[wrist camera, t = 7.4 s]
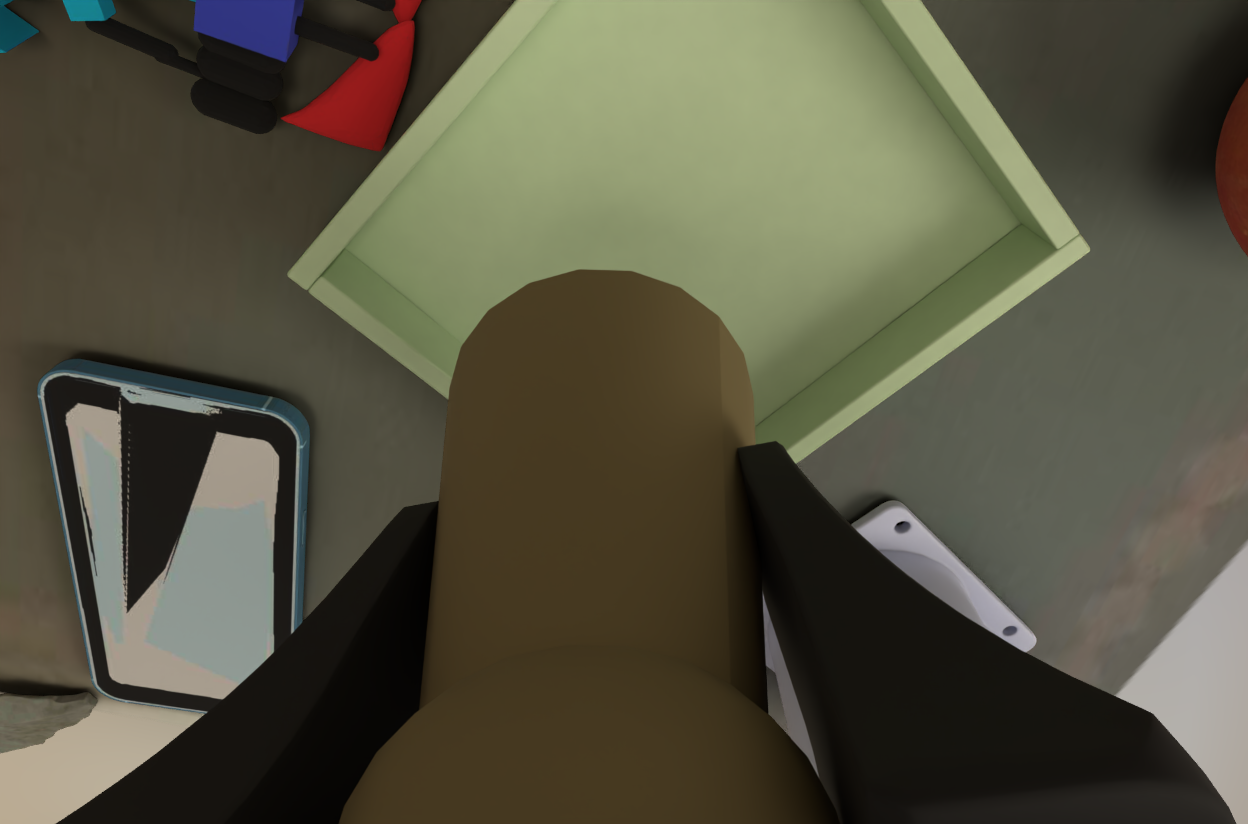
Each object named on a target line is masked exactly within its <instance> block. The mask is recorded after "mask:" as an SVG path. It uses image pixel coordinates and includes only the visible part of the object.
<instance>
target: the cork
mask: <svg viewBox="0 0 1248 824" xmlns="http://www.w3.org/2000/svg"><path fill="white" fill-rule="evenodd" d="M750 445H756V440H755V419H754V397H753V391H752V386H751V382H750V378H749V373H748V369H747V365H746V360H745V356H744V353H743V351H742V350H741V348H740V347H739V345H738V344H737V342H736V341H735V339H734V338H733V336H732V335H731V333H730V332H729V330H728V329H727V328H726V326H725V325H724V323H723V322H722V320H721V319H720V317H719V316H718V315H717V314H715V313H714V312H713V311H711V310H710V309H709V308H707V307H706V306H705V305H703V304H702V303H700V302H699V301H698V300H696V299H695V298H694V297H692V296H691V295H690V294H688V293H687V292H686V291H684V290H683V289H682V288H680V287H678V286H675V285H672V284H669V283H666V282H663V281H660V280H657V279H654V278H651V277H648V276H645V275H642V274H639V273H637V272H634V271H622V270H587V269H578V270H574V271H571V272H567V273H563V274H560V275H556V276H553V277H549V278H545V279H542V280H538V281H535V282H531V283H528V284H527V285H525V286H524V287H522V288H521V289H519V290H518V291H516V292H515V293H513V294H512V295H510V296H509V297H507V298H506V299H504V300H503V301H501V302H500V303H498V304H497V305H495V306H494V307H492V308H491V309H489V310H488V311H487V312H486V314H485V315H484V316H483V318H482V319H481V320H480V322H479V323H478V324H477V326H476V327H475V328H474V330H473V331H472V332H471V334H470V335H469V336H468V338H467V339H466V340H465V342H464V343H463V344H462V346H461V348H460V352H459V355H458V359H457V362H456V366H455V369H454V373H453V377H452V380H451V384H450V387H449V398H448V409H447V419H446V430H445V440H444V451H443V462H442V472H441V483H440V494H439V504H438V515H437V525H436V536H435V547H434V557H433V568H432V579H431V589H430V600H429V610H428V621H427V632H426V642H425V653H424V664H423V674H422V685H421V696H420V706H419V711H417V712H416V713H415V714H414V715H413V716H412V717H411V718H410V719H409V720H408V721H407V722H406V723H405V724H404V725H403V726H402V727H401V728H400V729H399V730H398V731H397V732H396V733H395V734H394V735H393V736H392V737H391V738H390V739H389V740H388V741H387V742H386V743H385V744H384V745H383V746H382V747H381V748H380V749H379V750H378V751H377V752H376V754H375V756H374V757H373V759H372V761H371V762H370V764H369V766H368V767H367V769H366V771H365V772H364V774H363V776H362V777H361V779H360V781H359V782H358V784H357V786H356V787H355V789H354V791H353V792H352V794H351V796H350V797H349V799H348V801H347V802H346V804H345V806H344V808H343V812H342V815H341V818H340V821H339V824H840V822H839V818H838V815H837V811H836V809H835V807H834V805H833V803H832V801H831V799H830V797H829V796H828V794H827V792H826V790H825V788H824V786H823V784H822V783H821V781H820V779H819V777H818V775H817V773H816V771H815V770H814V768H813V766H812V764H811V762H810V760H809V758H808V757H807V756H806V754H805V753H804V752H803V751H802V750H801V749H800V748H799V747H798V746H797V745H796V743H795V742H794V741H793V740H792V739H791V738H790V737H789V736H788V735H787V734H786V732H785V731H784V730H783V729H782V728H781V727H780V726H779V725H778V724H777V723H776V721H775V720H774V719H773V718H772V717H771V716H769V715H768V699H767V677H766V656H765V634H764V613H763V591H762V570H761V559H760V554H759V549H758V545H757V540H756V535H755V530H754V525H753V520H752V516H751V511H750V507H749V502H748V498H747V493H746V488H745V484H744V479H743V474H742V470H741V465H740V460H739V456H738V451H737V448H739V447H744V446H750Z"/></svg>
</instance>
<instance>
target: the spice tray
mask: <svg viewBox="0 0 1248 824" xmlns="http://www.w3.org/2000/svg"><path fill="white" fill-rule="evenodd" d="M1089 251H1090V247H1089V246H1088V244H1087V243H1086V241H1085V240H1084V238H1083V237H1082V236H1081V234H1079V231H1078V229H1077V228H1076V226H1075V225H1074V224H1073V222H1072V221H1071V219H1070V218H1069V216H1068V215H1067V213H1066V212H1065V210H1064V209H1063V207H1062V206H1061V205H1060V203H1059V202H1058V200H1057V199H1056V197H1055V196H1054V194H1053V193H1052V191H1051V190H1050V188H1049V187H1048V186H1047V184H1046V183H1045V181H1044V180H1043V178H1042V177H1041V175H1040V174H1039V172H1038V171H1037V169H1036V168H1035V167H1034V165H1033V164H1032V162H1031V161H1030V159H1029V158H1028V156H1027V155H1026V153H1025V152H1024V150H1023V149H1022V148H1021V146H1020V145H1019V143H1018V142H1017V140H1016V139H1015V137H1014V136H1013V134H1012V133H1011V131H1010V130H1009V129H1008V127H1007V126H1006V124H1005V123H1004V121H1003V120H1002V118H1001V117H1000V115H999V114H998V112H997V111H996V110H995V108H994V107H993V105H992V104H991V102H990V101H989V99H988V98H987V96H986V95H985V93H984V92H983V91H982V89H981V88H980V86H979V85H978V83H977V82H976V80H975V79H974V77H973V76H972V75H971V73H970V72H969V70H968V69H967V67H966V66H965V64H964V63H963V61H962V60H961V58H960V57H959V56H958V54H957V53H956V51H955V50H954V48H953V47H952V45H951V44H950V42H949V41H948V39H947V38H946V37H945V35H944V34H943V32H942V31H941V29H940V28H939V26H938V25H937V23H936V22H935V20H934V19H933V18H932V16H931V15H930V13H929V12H928V10H927V9H926V7H925V6H924V4H923V3H922V1H921V0H515V1H514V2H513V4H512V5H511V6H510V7H509V8H508V10H507V11H506V12H505V13H504V14H503V16H502V17H501V18H500V19H499V20H498V22H497V23H496V24H495V25H494V26H493V28H492V29H491V30H490V31H489V32H488V34H487V35H486V36H485V37H484V38H483V40H482V41H481V42H480V43H479V44H478V46H477V47H476V48H475V49H474V50H473V51H472V53H471V54H470V55H469V56H468V57H467V59H466V60H465V61H464V62H463V63H462V65H461V66H460V67H459V68H458V69H457V71H456V72H455V73H454V74H453V75H452V77H451V78H450V79H449V80H448V81H447V83H446V84H445V85H444V86H443V87H442V89H441V90H440V91H439V92H438V93H437V95H436V96H435V97H434V98H433V99H432V101H431V102H430V103H429V104H428V105H427V106H426V108H425V109H424V110H423V111H422V112H421V114H420V115H419V116H418V117H417V118H416V120H415V121H414V122H413V123H412V124H411V126H410V127H409V128H408V129H407V130H406V132H405V133H404V134H403V135H402V136H401V138H400V139H399V140H398V141H397V142H396V144H395V145H394V146H393V147H392V148H391V150H390V151H389V152H388V153H387V154H386V155H385V157H384V158H383V159H382V160H381V161H380V163H379V164H378V165H377V166H376V167H375V169H374V170H373V171H372V172H371V173H370V175H369V176H368V177H367V178H366V179H365V181H364V182H363V183H362V184H361V185H360V187H359V188H358V189H357V190H356V191H355V193H354V194H353V195H352V196H351V197H350V199H349V200H348V201H347V202H346V203H345V205H344V206H343V207H342V208H341V209H340V210H339V212H338V213H337V214H336V215H335V216H334V218H333V219H332V220H331V221H330V222H329V224H328V225H327V226H326V227H325V228H324V230H323V231H322V232H321V233H320V234H319V236H318V237H317V238H316V239H315V240H314V242H313V243H312V244H311V245H310V246H309V248H308V249H307V250H306V251H305V252H304V254H303V255H302V256H301V257H300V258H299V259H298V261H297V262H296V263H295V264H294V265H293V267H292V268H291V269H290V270H289V271H288V273H287V276H288V277H289V278H290V279H292V280H293V281H294V282H296V283H297V284H298V285H299V286H301V287H302V288H303V289H305V290H308V289H309V293H310V294H311V295H312V296H314V297H315V298H316V299H318V300H319V301H320V302H322V303H323V304H324V305H325V306H327V307H328V308H329V309H331V310H332V311H333V312H335V313H336V314H337V315H339V316H340V317H341V318H342V319H344V320H345V321H346V322H348V323H349V324H350V325H352V326H353V327H354V328H355V329H357V330H358V331H359V332H361V333H362V334H363V335H365V336H366V337H367V338H368V339H370V340H371V341H372V342H374V343H375V344H376V345H378V346H379V347H380V348H382V349H383V350H384V351H385V352H387V353H388V354H389V355H391V356H392V357H393V358H395V359H396V360H397V361H398V362H400V363H401V364H402V365H404V366H405V367H406V368H408V369H409V370H410V371H411V372H413V373H414V374H415V375H417V376H418V377H419V378H421V379H422V380H423V381H425V382H426V383H427V384H428V385H430V386H431V387H432V388H434V389H435V390H436V391H438V392H439V393H440V394H441V395H443V396H444V397H445V398H447V399H448V398H449V387H450V384H451V380H452V377H453V373H454V369H455V366H456V362H457V359H458V355H459V352H460V348H461V346H462V344H463V343H464V342H465V340H466V339H467V338H468V336H469V335H470V334H471V332H472V331H473V330H474V328H475V327H476V326H477V324H478V323H479V322H480V320H481V319H482V318H483V316H484V315H485V314H486V312H487V311H488V310H489V309H491V308H492V307H494V306H495V305H497V304H498V303H500V302H501V301H503V300H504V299H506V298H507V297H509V296H510V295H512V294H513V293H515V292H516V291H518V290H519V289H521V288H522V287H524V286H525V285H527V284H528V283H531V282H535V281H538V280H542V279H545V278H549V277H553V276H556V275H560V274H563V273H567V272H571V271H574V270H578V269H587V270H622V271H634V272H637V273H639V274H642V275H645V276H648V277H651V278H654V279H657V280H660V281H663V282H666V283H669V284H672V285H675V286H678V287H680V288H682V289H683V290H684V291H686V292H687V293H688V294H690V295H691V296H692V297H694V298H695V299H696V300H698V301H699V302H700V303H702V304H703V305H705V306H706V307H707V308H709V309H710V310H711V311H713V312H714V313H715V314H717V315H718V316H719V317H720V319H721V320H722V322H723V323H724V325H725V326H726V328H727V329H728V330H729V332H730V333H731V335H732V336H733V338H734V339H735V341H736V342H737V344H738V345H739V347H740V348H741V350H742V351H743V353H744V356H745V360H746V365H747V369H748V373H749V378H750V382H751V386H752V391H753V397H754V419H755V440H756V444H761V443H767V442H772V441H777V442H778V443H780V444H781V445H783V446H784V448H785V449H786V451H787V452H788V454H789V455H790V457H791V458H792V459H793V461H794V462H795V463H798V462H799V461H800V460H802V459H803V458H805V457H806V456H807V455H809V454H810V453H812V452H813V451H814V450H816V449H817V448H818V447H820V446H821V445H823V444H824V443H825V442H827V441H828V440H830V439H831V438H832V437H834V436H835V435H836V434H838V433H839V432H841V431H842V430H843V429H845V428H846V427H848V426H849V425H850V424H852V423H853V422H854V421H856V420H857V419H859V418H860V417H861V416H863V415H864V414H865V413H867V412H868V411H870V410H871V409H872V408H874V407H875V406H877V405H878V404H879V403H881V402H882V401H883V400H885V399H886V398H888V397H889V396H890V395H892V394H893V393H895V392H896V391H897V390H899V389H900V388H901V387H903V386H904V385H906V384H907V383H908V382H910V381H911V380H913V379H914V378H915V377H917V376H918V375H919V374H921V373H922V372H924V371H925V370H926V369H928V368H929V367H931V366H932V365H933V364H935V363H936V362H937V361H939V360H940V359H942V358H943V357H944V356H946V355H947V354H949V353H950V352H951V351H953V350H954V349H955V348H957V347H958V346H960V345H961V344H962V343H964V342H965V341H966V340H968V339H969V338H971V337H972V336H973V335H975V334H976V333H978V332H979V331H980V330H982V329H983V328H984V327H986V326H987V325H989V324H990V323H991V322H993V321H994V320H996V319H997V318H998V317H1000V316H1001V315H1002V314H1004V313H1005V312H1007V311H1008V310H1009V309H1011V308H1012V307H1014V306H1015V305H1016V304H1018V303H1019V302H1020V301H1022V300H1023V299H1025V298H1026V297H1027V296H1029V295H1030V294H1032V293H1033V292H1034V291H1036V290H1037V289H1038V288H1040V287H1041V286H1043V285H1044V284H1045V283H1047V282H1048V281H1050V280H1051V279H1052V278H1054V277H1055V276H1056V275H1058V274H1059V273H1061V272H1062V271H1063V270H1065V269H1066V268H1067V267H1069V266H1070V265H1072V264H1073V263H1074V262H1076V261H1077V260H1079V259H1080V258H1081V257H1083V256H1084V255H1085V254H1087V253H1088V252H1089Z"/></svg>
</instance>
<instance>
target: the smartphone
mask: <svg viewBox="0 0 1248 824" xmlns="http://www.w3.org/2000/svg"><path fill="white" fill-rule="evenodd" d="M37 394H38V400H39V405H40V410H41V416H42V421H43V426H44V431H45V437H46V442H47V447H48V453H49V458H50V463H51V469H52V474H53V479H54V484H55V490H56V495H57V500H58V506H59V511H60V516H61V522H62V527H63V532H64V538H65V543H66V548H67V553H68V559H69V564H70V569H71V575H72V580H73V585H74V591H75V596H76V601H77V607H78V612H79V617H80V622H81V628H82V633H83V638H84V644H85V649H86V654H87V660H88V665H89V670H90V676H91V681H92V684H93V685H94V687H95V688H96V689H97V690H98V691H99V692H100V693H102V694H103V695H105V696H107V697H109V698H111V699H113V700H117V701H120V702H127V703H134V704H141V705H148V706H155V707H162V708H169V709H176V710H183V711H190V712H197V713H204V714H206V713H207V712H208V711H210V710H211V709H212V708H213V707H215V706H216V705H217V704H218V703H219V702H220V701H222V700H223V699H224V698H225V697H226V696H227V695H228V694H230V693H231V692H232V691H233V690H234V689H235V688H236V687H237V686H238V685H239V684H241V683H242V682H243V681H244V680H245V679H246V678H247V677H248V676H249V675H250V674H252V673H253V672H254V671H255V670H256V669H257V668H258V667H259V666H260V665H261V664H262V663H263V662H264V661H265V660H266V659H267V658H268V657H269V656H270V655H271V654H272V653H273V652H274V651H275V650H276V649H277V648H278V647H280V646H281V644H282V643H283V642H284V641H285V640H286V639H287V638H288V637H289V636H290V635H291V634H292V633H293V632H294V631H295V630H296V629H297V627H298V626H299V625H300V624H301V623H302V616H303V591H304V567H305V542H306V517H307V493H308V468H309V443H310V428H309V425H308V423H307V421H306V419H305V417H304V416H303V414H302V413H301V412H300V411H299V410H298V409H297V408H296V407H294V406H293V405H291V404H290V403H288V402H286V401H284V400H281V399H279V398H275V397H270V396H265V395H260V394H255V393H250V392H245V391H240V390H235V389H230V388H225V387H220V386H215V385H210V384H205V383H200V382H195V381H190V380H185V379H180V378H175V377H170V376H165V375H159V374H154V373H149V372H144V371H139V370H134V369H129V368H124V367H119V366H114V365H109V364H104V363H99V362H94V361H89V360H83V359H70V360H65V361H63V362H61V363H59V364H58V365H56V366H55V367H54V368H53V369H51V370H50V371H49V372H48V373H46V374H45V375H44V376H43V377H42V378H41V379H40V381H39V383H38V388H37Z"/></svg>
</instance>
